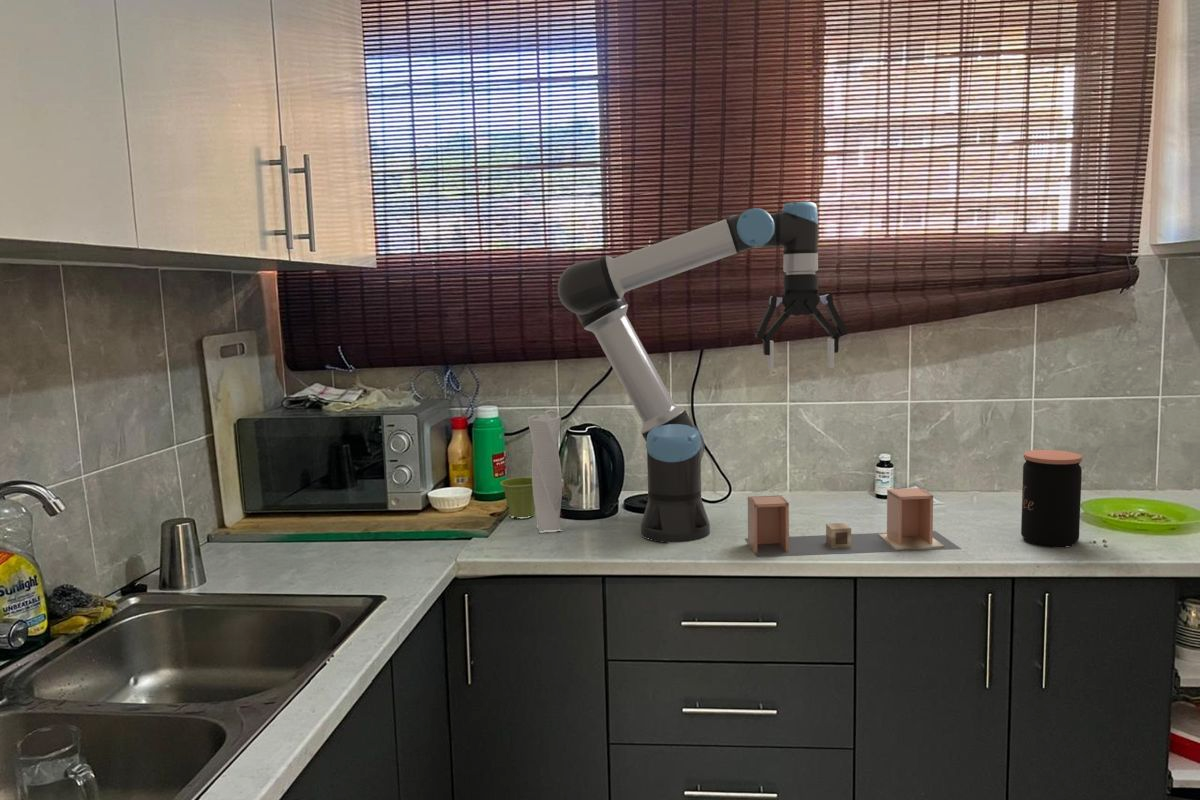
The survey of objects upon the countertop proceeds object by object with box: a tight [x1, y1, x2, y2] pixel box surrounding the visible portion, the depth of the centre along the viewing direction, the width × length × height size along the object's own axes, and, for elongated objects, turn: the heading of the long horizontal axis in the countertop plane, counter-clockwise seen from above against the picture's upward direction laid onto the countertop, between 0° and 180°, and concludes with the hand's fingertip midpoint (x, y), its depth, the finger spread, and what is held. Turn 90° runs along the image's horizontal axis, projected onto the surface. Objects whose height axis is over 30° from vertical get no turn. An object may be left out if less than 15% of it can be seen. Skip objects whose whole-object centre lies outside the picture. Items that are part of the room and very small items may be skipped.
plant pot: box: [500, 477, 536, 517], centre depth 214 cm, size 9×9×9 cm
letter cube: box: [825, 522, 852, 548], centre depth 182 cm, size 4×4×4 cm
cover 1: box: [747, 495, 790, 554], centre depth 181 cm, size 7×6×10 cm
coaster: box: [878, 534, 945, 550], centre depth 183 cm, size 10×10×1 cm
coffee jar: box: [1020, 449, 1083, 548], centre depth 180 cm, size 11×11×18 cm
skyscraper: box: [527, 409, 563, 532], centre depth 200 cm, size 8×8×28 cm
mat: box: [744, 530, 962, 558], centre depth 183 cm, size 41×13×1 cm, turn 92°
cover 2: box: [886, 487, 934, 545], centre depth 182 cm, size 7×6×10 cm
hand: (800, 368), depth 200 cm, fingers open, 13 cm apart
